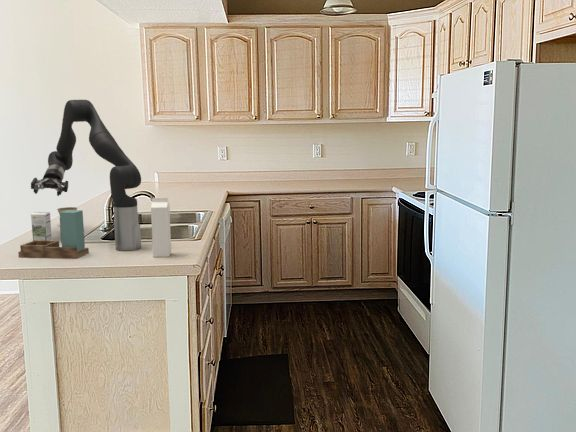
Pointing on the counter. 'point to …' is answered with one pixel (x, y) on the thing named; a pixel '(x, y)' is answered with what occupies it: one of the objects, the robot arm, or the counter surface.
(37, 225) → the syrup box
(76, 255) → the wooden compartment tray
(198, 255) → the counter surface
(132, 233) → the robot arm
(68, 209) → the flower pot
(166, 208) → the milk
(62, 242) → the teal tall block
